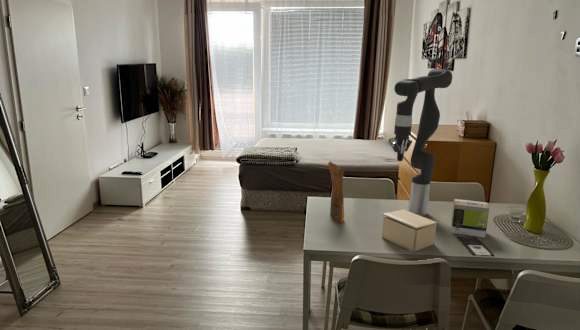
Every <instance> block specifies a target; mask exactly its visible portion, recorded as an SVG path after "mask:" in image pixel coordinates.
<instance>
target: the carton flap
mask: <svg viewBox="0 0 580 330" xmlns="http://www.w3.org/2000/svg"><path fill="white" fill-rule="evenodd" d="M382 216H383V217H385V216H386V217H389V218H391V219H393V220H396V221H398V222H401V223H403V224H406V225H408V226H410V227H413V228H415V229H418V228H422V227H426V226H430V225H433V224H438V222H437V221H435V220H433V219H429V218H427V217H426V216H425V217H424V216H419V215H417V214H414V213H411V212H409V210H406V209H398V210H392V211H390V212H382Z"/></svg>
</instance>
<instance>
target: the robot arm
mask: <svg viewBox="0 0 580 330" xmlns="http://www.w3.org/2000/svg"><path fill="white" fill-rule="evenodd" d="M452 82H453V73H452V72H451V70H449V69H442V68H431V69H430V70H429V71H428V74H427V75H426V76H425V75H423V76H418V77H417V76H416V77H413V78H408V79H407V78H406V79H399V80H398V81H396V83H395V84H394V88H393V90H394V92H395V94H396V95H398V96H401V97H406V99H405V100H404V101H403V100H402V101H398V102H397V105H396V115H395V120H394V133H393V134H394V135H395V137H394V141H393V142H390V145H391V147H392V150H393V151H394V152H395V153H397V154H396V155H397V157H396V160H397V162H403V161H404V157H405V153H406V152H408V150H409V149H410V147H411V145H412V143H413V140H411V139H410V136H411V135H412V125H413V111H414V110H413V107H414V104H415V102H416V99H417V96H418V94H419V93H422V92H424V98H423V105H422V110H421V114H420V119H419V125H418V128H417V129H418V131H417V134H416V137H415V143H414V145H413V150H412V153H411V156H410V167H412V168H414V169H417V170H421V172H420V174H414V175H413V176H412V178H411V186H410V196H409V205H408V211H409V212H411V213H414V214H417V215H419V216H422V217H424V216H425V217H426V215H427V214H428V212H429V203H430V189H431V182H432V181H431V180H432V177H433V173H434V166H435V162H436V161H435V160H436V159H435V156H434V154H432V153H430V152H425V151H424V150H425V146H426V144H427V142H428V140H429V139H430V138H431V137H432V136H433V134H435V132H436V131H437V129H438V127H439V123H440V118H441V113H440V109H439V107H438V104H437V102H436V97H435V93H436V92H435V91H436V89H447V88H448V87H449V86H450V85H451V84H452Z"/></svg>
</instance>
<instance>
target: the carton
mask: <svg viewBox="0 0 580 330" xmlns="http://www.w3.org/2000/svg"><path fill="white" fill-rule="evenodd" d="M382 222H383V223H382V229H381V231H382V233H381V238H382V239H384V240H387V241H389V242H391V243H393V244H395V245H397V246H399V247H402V248H404V249H405V250H408V251H410V252H411V253H416V252H419V251H422V250H425V249H427V248H429V247H431V246H434V245H435V241H436V233H437V232H436V231H437V224H438V223H437V224H433V225H430V226H426V227H422V228H418V229H415V228H413V227H410V226H408V225H406V224H403V223H401V222H398V221H396V220H393V219H391V218H389V217H386V216H383V221H382Z"/></svg>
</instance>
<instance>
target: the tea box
mask: <svg viewBox="0 0 580 330" xmlns="http://www.w3.org/2000/svg"><path fill="white" fill-rule="evenodd" d="M489 213H490V207H489V204H488V201H487V202H486V201H479V200H477V201H475V200H469V199H459V198H454V199H453V206H452V214H451V222H450V225H451V226H450V227H451V228H450V229H451V234H454V235H455V234H456V235H461V236H462V235H463V236H467V237H477V238H483V239H485V238H486V234H487V227H488V223H489V222H488V220H489Z"/></svg>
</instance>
